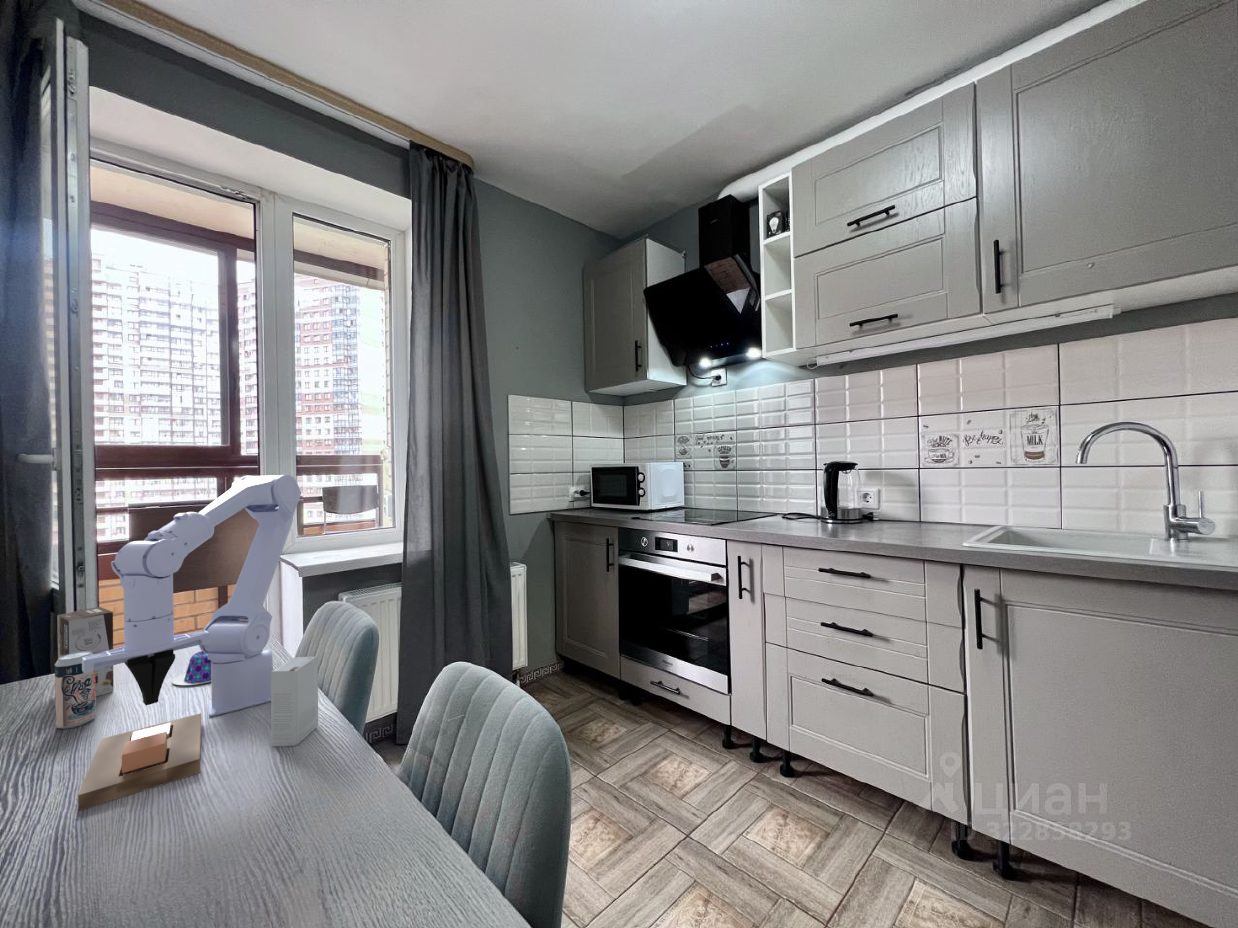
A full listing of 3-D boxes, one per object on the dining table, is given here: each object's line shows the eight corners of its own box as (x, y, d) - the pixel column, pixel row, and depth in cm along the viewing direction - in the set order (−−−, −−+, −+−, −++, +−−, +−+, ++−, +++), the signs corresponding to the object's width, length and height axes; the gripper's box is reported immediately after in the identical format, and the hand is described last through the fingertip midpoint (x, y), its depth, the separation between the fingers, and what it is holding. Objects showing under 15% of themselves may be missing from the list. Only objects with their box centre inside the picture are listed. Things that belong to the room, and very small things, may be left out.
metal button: (170, 737, 81) (170, 722, 81) (169, 748, 78) (169, 732, 78) (133, 747, 78) (133, 731, 78) (130, 759, 75) (129, 743, 75)
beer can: (68, 731, 84) (67, 661, 84) (47, 729, 85) (46, 659, 85) (103, 717, 89) (102, 650, 89) (83, 715, 90) (82, 649, 90)
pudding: (194, 692, 99) (194, 666, 99) (158, 684, 103) (158, 659, 104) (256, 669, 110) (256, 645, 110) (222, 662, 115) (221, 640, 115)
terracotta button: (167, 747, 74) (166, 731, 74) (165, 760, 71) (164, 743, 71) (126, 759, 72) (125, 741, 72) (121, 773, 68) (121, 755, 68)
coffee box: (115, 691, 100) (114, 611, 100) (68, 704, 94) (67, 620, 94) (102, 681, 105) (101, 605, 105) (57, 694, 99) (56, 613, 99)
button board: (201, 724, 85) (201, 713, 85) (199, 772, 72) (199, 758, 72) (101, 751, 78) (101, 738, 78) (78, 810, 64) (77, 795, 64)
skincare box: (293, 727, 84) (292, 656, 84) (320, 726, 84) (319, 655, 84) (269, 748, 78) (267, 671, 78) (298, 746, 78) (296, 669, 78)
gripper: (200, 601, 87) (201, 679, 86) (78, 624, 75) (79, 713, 75) (212, 608, 82) (214, 689, 82) (85, 632, 71) (86, 727, 71)
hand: (150, 702), depth 78 cm, fingers closed
